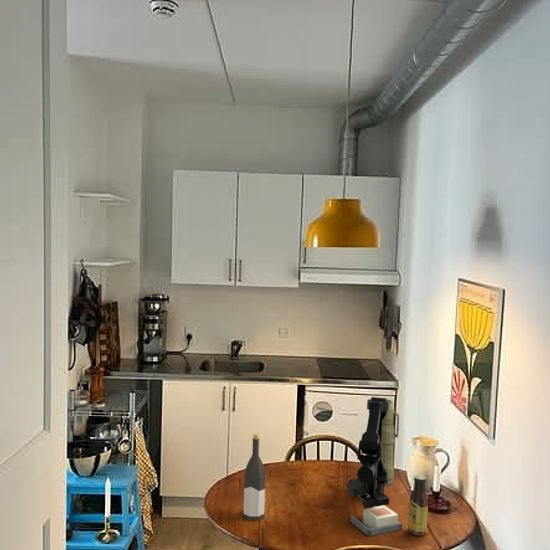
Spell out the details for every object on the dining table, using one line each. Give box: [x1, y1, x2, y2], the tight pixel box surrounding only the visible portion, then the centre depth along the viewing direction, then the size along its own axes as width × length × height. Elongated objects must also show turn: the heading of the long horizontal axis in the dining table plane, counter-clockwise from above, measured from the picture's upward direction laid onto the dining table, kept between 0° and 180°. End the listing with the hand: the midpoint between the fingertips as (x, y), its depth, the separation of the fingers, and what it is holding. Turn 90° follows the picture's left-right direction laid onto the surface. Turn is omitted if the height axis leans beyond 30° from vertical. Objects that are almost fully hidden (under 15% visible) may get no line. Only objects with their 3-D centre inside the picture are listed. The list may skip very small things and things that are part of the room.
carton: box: [362, 505, 399, 529], centre depth 206 cm, size 9×8×5 cm
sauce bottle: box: [408, 474, 429, 536], centre depth 202 cm, size 7×6×20 cm
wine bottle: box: [243, 433, 266, 522], centre depth 211 cm, size 8×8×30 cm
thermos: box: [381, 399, 400, 487], centre depth 247 cm, size 9×12×35 cm
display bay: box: [350, 515, 403, 537], centre depth 206 cm, size 14×12×2 cm
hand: (367, 514), depth 211 cm, fingers closed
